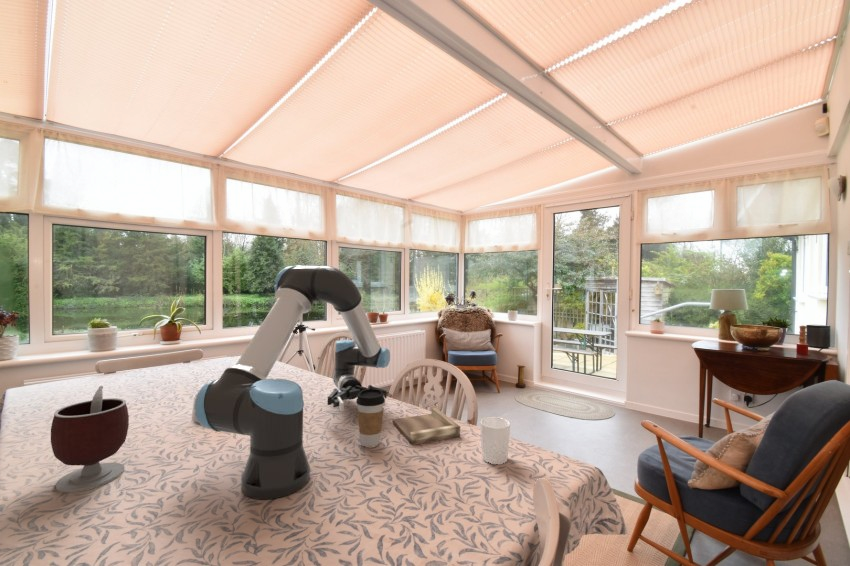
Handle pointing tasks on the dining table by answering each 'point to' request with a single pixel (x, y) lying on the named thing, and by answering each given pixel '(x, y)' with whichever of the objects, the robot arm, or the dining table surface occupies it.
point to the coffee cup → (370, 416)
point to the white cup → (495, 439)
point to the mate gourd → (89, 441)
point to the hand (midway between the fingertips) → (363, 404)
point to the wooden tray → (427, 427)
